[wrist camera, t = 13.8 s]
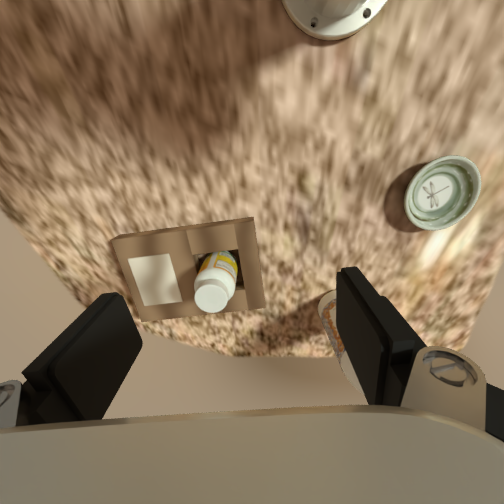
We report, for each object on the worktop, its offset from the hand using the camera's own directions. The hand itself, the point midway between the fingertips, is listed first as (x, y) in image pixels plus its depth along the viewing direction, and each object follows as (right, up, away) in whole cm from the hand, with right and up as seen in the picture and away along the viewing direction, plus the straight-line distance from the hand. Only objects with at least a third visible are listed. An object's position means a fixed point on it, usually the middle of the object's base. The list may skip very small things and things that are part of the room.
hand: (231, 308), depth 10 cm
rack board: (-8, 0, +27) cm, 28 cm away
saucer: (+26, +11, +23) cm, 36 cm away
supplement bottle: (-4, +1, +27) cm, 27 cm away
